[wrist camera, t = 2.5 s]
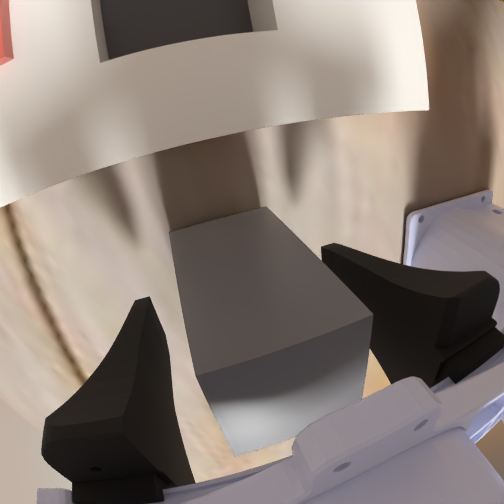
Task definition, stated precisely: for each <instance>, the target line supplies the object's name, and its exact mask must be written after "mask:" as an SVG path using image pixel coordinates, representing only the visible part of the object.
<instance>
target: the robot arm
mask: <svg viewBox="0 0 504 504" xmlns="http://www.w3.org/2000/svg"><path fill="white" fill-rule="evenodd" d="M492 197H493V194H492V191H490V190H484V191H480V192H477V193H474V194H470V195H467V196H464V197H460V198H457V199H454V200H450V201H447V202H444V203H440V204H437V205H433V206H430V207H427V208H423V209H420V210H417V211H413V212H411V213H410V214H409V215H408V217H407V221H406V236H405V249H404V260H403V264H399V263H395V262H392V261H388V260H385V259H382V258H378V257H375V256H372V255H369V254H366V253H364V252H361V251H358V250H355V249H352V248H349V247H346V246H343V245H340V244H336V243H332V244H329V245H325V246H322V247H321V254H322V262H323V263H324V264H325V265H326V266H327V267H328V268H329V269H330V270H331V271H332V272H333V273H334V274H335V275H336V276H337V277H338V278H339V279H340V280H341V281H342V282H343V283H344V284H345V285H346V286H347V287H348V288H349V289H350V290H351V291H352V292H353V293H354V294H355V296H356V297H357V298H358V299H359V300H360V301H361V302H362V303H363V304H364V305H365V306H366V307H367V308H368V309H369V310H370V311H371V312H372V313H373V322H372V331H371V340H370V349H371V351H372V352H373V354H374V356H375V357H376V359H377V360H378V362H379V364H380V365H381V367H382V369H383V370H384V372H385V374H386V376H387V377H388V379H389V381H390V383H391V385H390V386H388V387H386V388H384V389H382V390H380V391H378V392H376V393H374V394H372V395H370V396H368V397H365V398H363V399H361V400H359V401H357V402H355V403H353V404H350V405H348V406H346V407H344V408H342V409H339V410H337V411H335V412H332V413H330V414H328V415H325V416H323V417H322V418H320V419H318V420H316V421H314V422H312V423H311V424H309V425H308V426H307V427H306V428H304V429H303V430H302V431H301V432H300V433H299V434H298V435H297V436H296V438H295V441H294V443H293V446H292V454H293V455H292V456H289V457H286V458H283V459H281V460H278V461H275V462H272V463H269V464H266V465H262V466H259V467H256V468H253V469H249V470H246V471H243V472H239V473H236V474H232V475H228V476H224V477H220V478H216V479H212V480H208V481H204V482H199V483H195V480H194V477H193V474H192V471H191V468H190V465H189V461H188V458H187V455H186V452H185V448H184V444H183V441H182V437H181V433H180V429H179V425H178V421H177V416H176V412H175V406H174V399H173V388H172V377H171V365H170V355H169V349H168V344H167V340H166V335H165V332H164V330H163V328H162V325H161V323H160V321H159V318H158V316H157V313H156V311H155V309H154V306H153V304H152V301H151V299H150V296H149V297H146V298H142V299H139V300H135V302H134V304H133V306H132V308H131V310H130V312H129V314H128V316H127V318H126V320H125V322H124V324H123V326H122V328H121V330H120V332H119V334H118V336H117V338H116V340H115V341H114V343H113V345H112V347H111V348H110V350H109V352H108V353H107V355H106V356H105V358H104V359H103V361H102V362H101V363H100V365H99V366H98V368H97V369H96V370H95V371H94V373H93V374H92V375H91V376H90V377H89V379H88V380H87V381H86V382H85V383H84V384H83V386H82V387H81V388H80V389H79V390H78V391H77V392H76V393H75V394H74V395H73V396H72V397H71V398H70V399H69V400H68V401H66V402H65V403H64V404H63V405H62V406H61V407H59V408H58V409H57V410H56V411H54V412H53V413H52V414H51V415H49V416H48V417H47V418H46V419H45V425H44V431H43V440H42V448H41V451H42V452H41V453H42V456H43V458H44V460H45V461H46V462H47V463H48V464H49V465H50V466H51V467H52V468H54V469H55V470H56V471H58V472H59V473H60V474H61V475H63V476H64V477H65V478H67V479H68V480H70V481H71V482H72V491H71V490H68V489H62V488H39V489H37V504H504V481H503V480H502V478H501V477H500V476H499V474H497V472H496V471H495V469H494V468H493V467H492V466H491V464H490V463H489V462H488V460H487V459H486V458H485V456H484V455H483V454H482V453H481V451H480V450H479V449H478V448H477V446H476V445H475V443H476V442H477V441H478V440H480V439H481V438H482V437H483V436H484V435H485V434H486V433H487V432H488V431H489V430H490V429H491V428H493V427H494V426H495V425H496V424H497V423H498V422H499V421H500V419H502V421H503V422H504V209H503V208H501V207H499V206H496V205H494V204H492ZM419 218H420V219H419Z"/></svg>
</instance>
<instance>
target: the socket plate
mask: <svg viewBox="0 0 504 504" xmlns="http://www.w3.org/2000/svg"><path fill="white" fill-rule="evenodd" d="M420 110H429V98H428V84H427V73H426V63H425V54H424V47H423V39H422V33H421V26H420V21H419V15H418V10H417V4H416V0H0V207H2V206H4V205H7V204H9V203H11V202H14V201H16V200H18V199H21V198H23V197H25V196H28V195H30V194H33V193H35V192H38V191H40V190H43V189H45V188H48V187H51V186H53V185H56V184H59V183H61V182H64V181H67V180H69V179H72V178H75V177H78V176H81V175H84V174H86V173H89V172H92V171H95V170H98V169H101V168H104V167H108V166H111V165H114V164H117V163H120V162H124V161H127V160H130V159H134V158H137V157H140V156H144V155H147V154H151V153H155V152H158V151H162V150H166V149H169V148H173V147H177V146H181V145H185V144H189V143H193V142H198V141H202V140H206V139H211V138H215V137H220V136H224V135H229V134H234V133H239V132H244V131H249V130H254V129H260V128H265V127H271V126H277V125H283V124H289V123H296V122H302V121H309V120H317V119H324V118H332V117H341V116H350V115H360V114H372V113H384V112H399V111H420Z"/></svg>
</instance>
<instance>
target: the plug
mask: <svg viewBox="0 0 504 504" xmlns="http://www.w3.org/2000/svg"><path fill="white" fill-rule="evenodd" d="M169 234H170V241H171V248H172V254H173V260H174V267H175V273H176V279H177V285H178V290H179V296H180V302H181V307H182V312H183V318H184V323H185V328H186V333H187V338H188V343H189V348H190V352H191V357H192V362H193V366H194V371H195V375H196V378H197V380H198V382H199V385H200V387H201V389H202V391H203V393H204V396H205V398H206V400H207V402H208V404H209V406H210V408H211V411H212V413H213V415H214V417H215V419H216V421H217V423H218V425H219V427H220V429H221V431H222V433H223V435H224V437H225V439H226V441H227V443H228V445H229V447H230V449H231V451H232V453H233V455H234V457H236V456H240V455H243V454H246V453H250V452H253V451H256V450H259V449H262V448H266V447H269V446H272V445H275V444H277V443H280V442H283V441H286V440H289V439H291V438H294V437H296V436H297V435H298V434H299V433H300V432H301V431H302V430H303V429H304V428H306V427H307V426H308V425H309V424H311V423H312V422H314V421H316V420H318V419H320V418H322V417H323V416H325V415H328V414H330V413H332V412H335V411H337V410H339V409H342V408H344V407H346V406H348V405H350V404H353V403H355V402H357V401H359V400H361V399H362V395H363V389H364V383H365V377H366V370H367V363H368V356H369V348H370V340H371V331H372V322H373V313H372V312H371V311H370V310H369V309H368V308H367V307H366V306H365V305H364V304H363V303H362V302H361V301H360V300H359V299H358V298H357V297H356V296H355V294H354V293H353V292H352V291H351V290H350V289H349V288H348V287H347V286H346V285H345V284H344V283H343V282H342V281H341V280H340V279H339V278H338V277H337V276H336V275H335V274H334V273H333V272H332V271H331V270H330V269H329V268H328V267H327V266H326V265H325V264H324V263H323V262H322V261H321V260H320V259H319V258H318V257H317V256H316V255H315V254H314V253H313V252H312V251H311V250H310V249H309V248H308V247H307V246H306V245H305V244H304V243H303V242H302V241H301V240H300V239H299V238H298V237H297V236H296V235H295V234H294V233H293V232H292V231H291V230H290V229H289V228H288V227H287V226H286V225H285V224H284V223H283V222H282V221H281V220H280V219H279V218H278V217H277V216H276V215H275V214H274V213H273V212H272V211H271V210H270V209H268V208H267V207H266V206H265V207H261V208H257V209H253V210H250V211H246V212H242V213H238V214H234V215H230V216H227V217H223V218H219V219H215V220H212V221H208V222H204V223H200V224H197V225H193V226H189V227H186V228H182V229H179V230H175V231H172V232H169Z"/></svg>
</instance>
